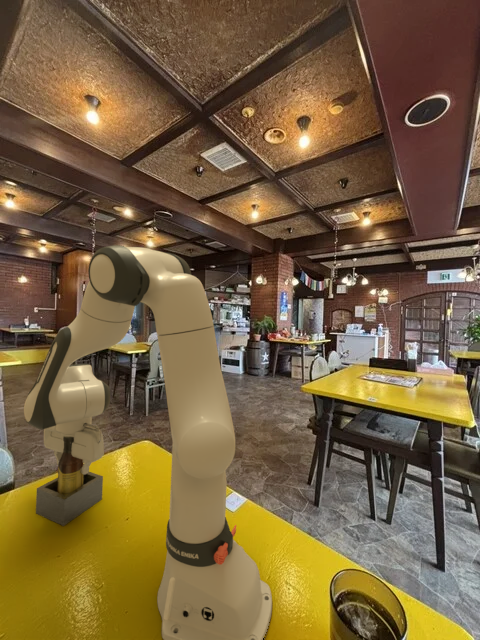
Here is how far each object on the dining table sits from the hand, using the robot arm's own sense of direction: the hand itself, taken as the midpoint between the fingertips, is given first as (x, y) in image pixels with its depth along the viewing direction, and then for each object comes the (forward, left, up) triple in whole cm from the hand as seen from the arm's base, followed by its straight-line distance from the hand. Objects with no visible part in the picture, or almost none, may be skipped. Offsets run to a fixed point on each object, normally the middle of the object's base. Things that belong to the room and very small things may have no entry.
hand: (72, 469), depth 80 cm
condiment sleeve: (0, 0, -11) cm, 11 cm away
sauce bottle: (0, +1, -10) cm, 10 cm away
